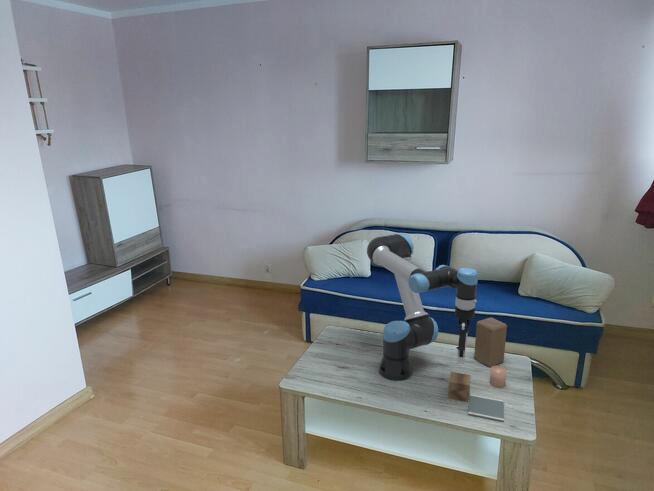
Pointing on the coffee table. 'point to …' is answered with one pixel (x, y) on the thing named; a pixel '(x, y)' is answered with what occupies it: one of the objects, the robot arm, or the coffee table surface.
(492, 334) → the wooden block
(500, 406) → the mat
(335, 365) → the coffee table surface
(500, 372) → the pink cylinder
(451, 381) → the cube
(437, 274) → the robot arm
